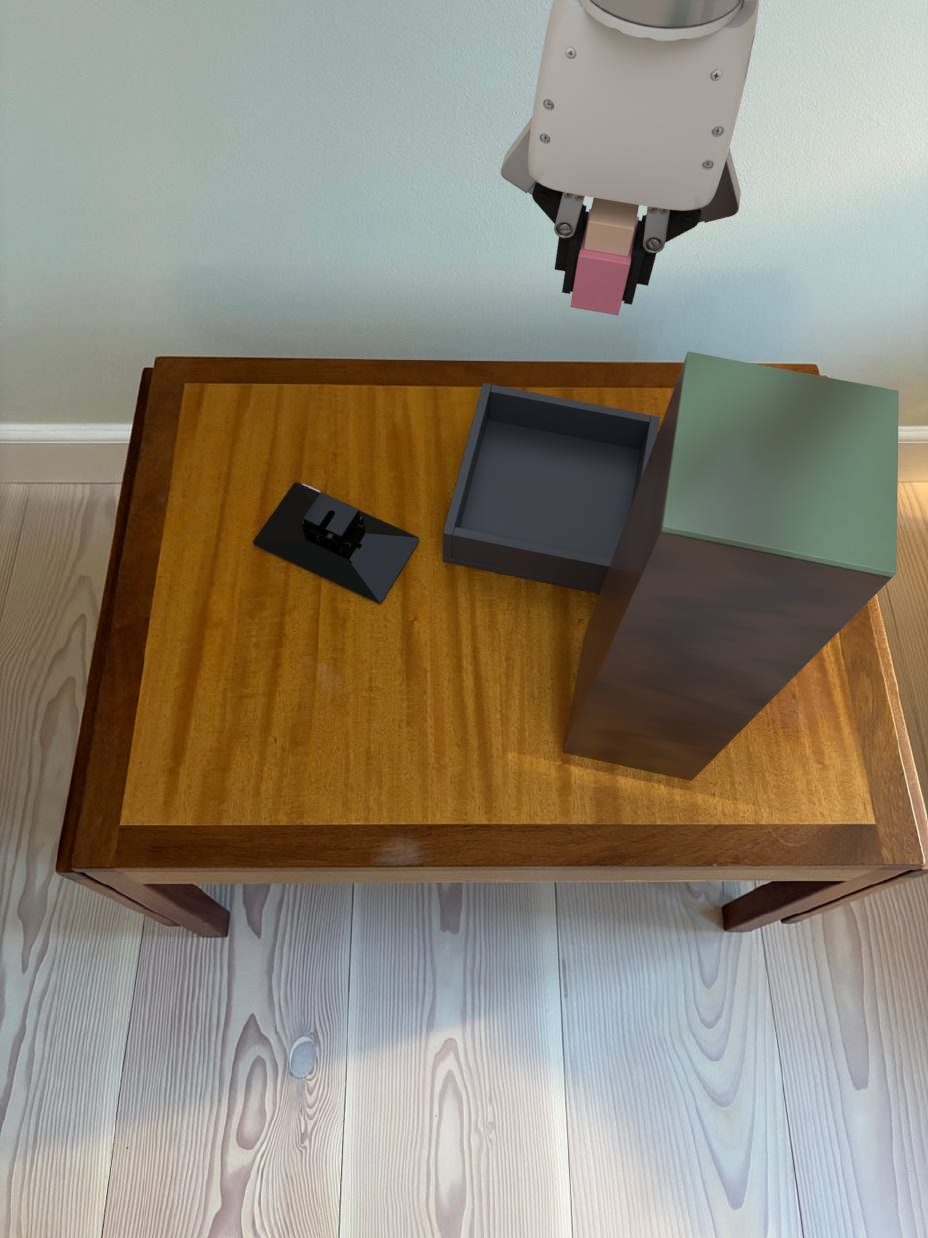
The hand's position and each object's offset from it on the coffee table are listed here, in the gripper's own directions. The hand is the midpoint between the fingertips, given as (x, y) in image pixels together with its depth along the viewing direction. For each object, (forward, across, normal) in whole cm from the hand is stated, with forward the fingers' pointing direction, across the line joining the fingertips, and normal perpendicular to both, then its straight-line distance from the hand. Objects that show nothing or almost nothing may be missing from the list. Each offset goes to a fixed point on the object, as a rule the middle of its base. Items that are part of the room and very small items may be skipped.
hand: (600, 280), depth 55 cm
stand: (+26, -9, +17) cm, 32 cm away
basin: (+26, +1, 0) cm, 26 cm away
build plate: (+26, +18, +8) cm, 32 cm away
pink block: (+1, 0, 0) cm, 1 cm away
